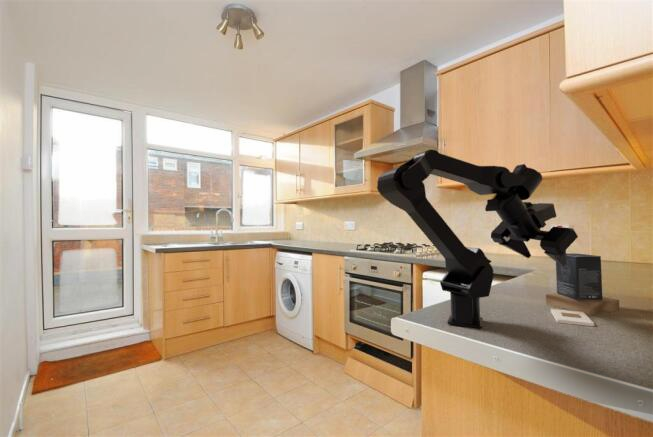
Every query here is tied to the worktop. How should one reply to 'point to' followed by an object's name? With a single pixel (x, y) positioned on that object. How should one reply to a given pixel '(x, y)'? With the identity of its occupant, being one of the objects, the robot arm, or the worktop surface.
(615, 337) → the worktop surface
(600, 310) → the walnut slab
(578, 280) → the box
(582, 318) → the card
